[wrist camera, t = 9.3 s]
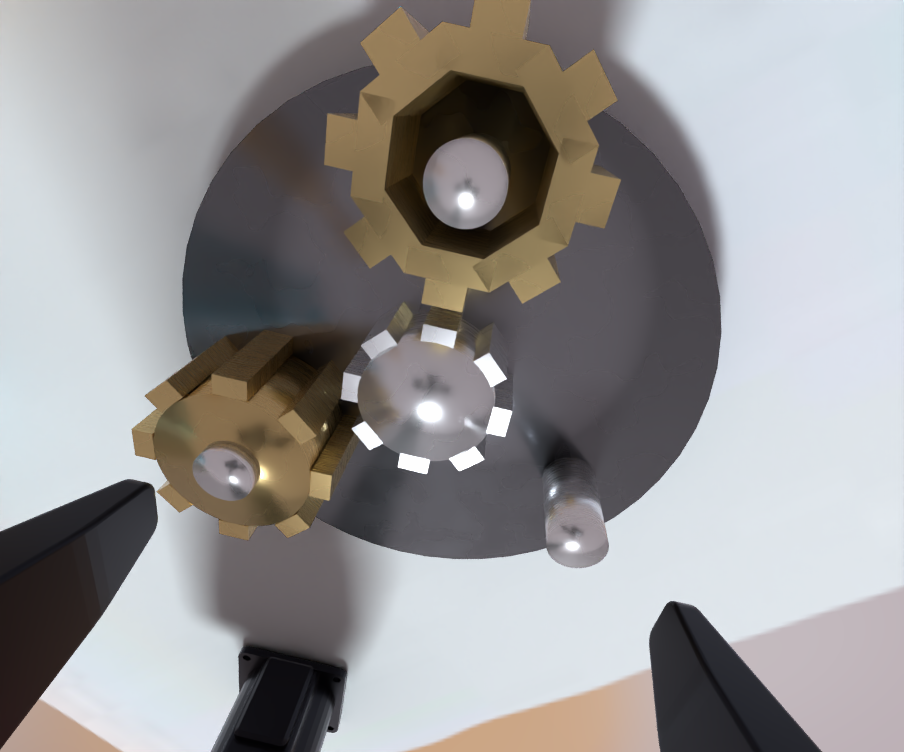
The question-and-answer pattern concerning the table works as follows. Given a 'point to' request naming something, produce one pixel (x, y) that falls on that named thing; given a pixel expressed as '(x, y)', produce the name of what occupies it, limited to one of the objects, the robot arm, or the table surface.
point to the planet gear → (395, 138)
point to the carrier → (432, 346)
